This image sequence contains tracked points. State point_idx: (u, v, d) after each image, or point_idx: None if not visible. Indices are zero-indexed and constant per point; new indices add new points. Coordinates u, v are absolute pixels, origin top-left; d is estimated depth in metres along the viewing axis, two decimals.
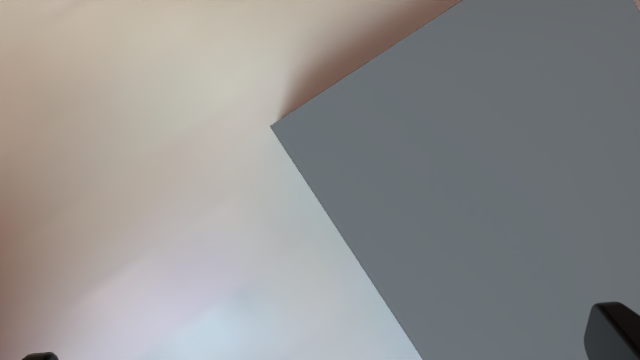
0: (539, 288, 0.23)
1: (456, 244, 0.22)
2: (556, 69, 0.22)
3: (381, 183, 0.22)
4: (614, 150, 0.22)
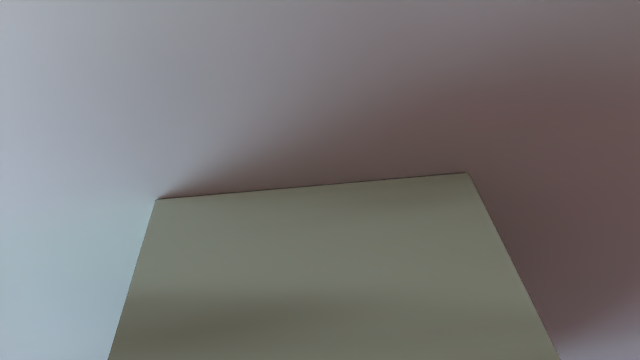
0: None
1: None
2: None
3: None
4: None
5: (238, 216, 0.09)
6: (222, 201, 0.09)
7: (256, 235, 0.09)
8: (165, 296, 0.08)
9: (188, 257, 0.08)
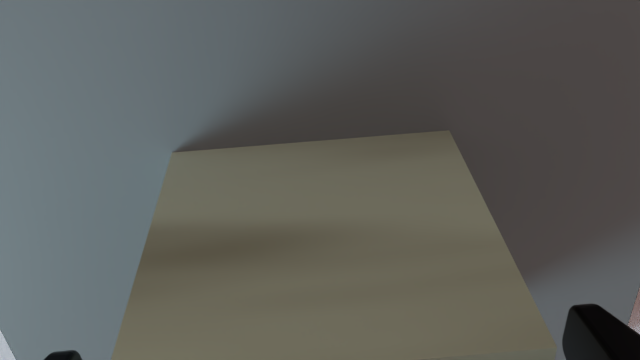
0: None
1: None
2: (487, 104, 0.10)
3: (42, 142, 0.10)
4: None
5: (245, 165, 0.10)
6: (231, 153, 0.11)
7: (261, 179, 0.10)
8: (183, 226, 0.09)
9: (202, 197, 0.09)
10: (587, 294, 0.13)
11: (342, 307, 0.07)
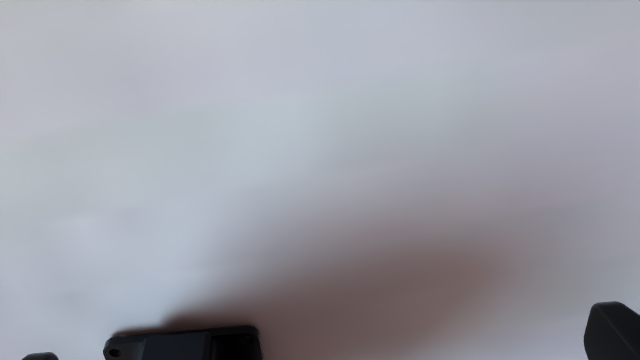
0: None
1: None
2: None
3: None
4: None
5: None
6: None
7: None
8: None
9: None
10: None
11: None
